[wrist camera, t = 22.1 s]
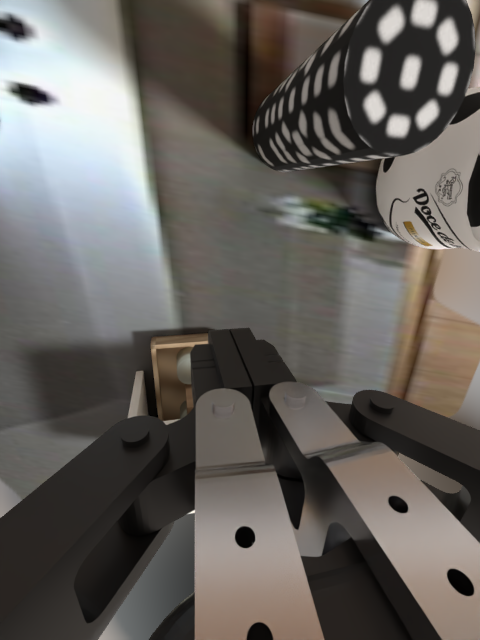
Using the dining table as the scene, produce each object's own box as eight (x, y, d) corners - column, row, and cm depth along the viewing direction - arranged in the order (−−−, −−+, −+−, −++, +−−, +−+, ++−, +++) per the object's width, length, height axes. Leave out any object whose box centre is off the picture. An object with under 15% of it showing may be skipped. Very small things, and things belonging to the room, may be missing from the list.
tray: (151, 336, 41) (147, 370, 34) (222, 332, 43) (233, 362, 36) (160, 425, 48) (158, 469, 40) (221, 417, 50) (231, 458, 42)
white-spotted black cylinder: (313, 174, 37) (446, 161, 19) (249, 169, 35) (330, 149, 18) (325, 93, 34) (497, -12, 16) (255, 83, 32) (362, -48, 14)
